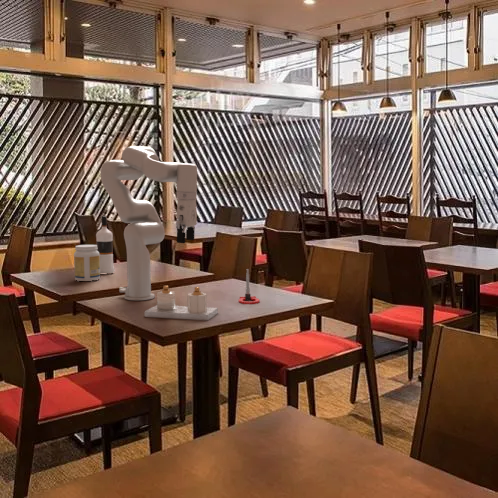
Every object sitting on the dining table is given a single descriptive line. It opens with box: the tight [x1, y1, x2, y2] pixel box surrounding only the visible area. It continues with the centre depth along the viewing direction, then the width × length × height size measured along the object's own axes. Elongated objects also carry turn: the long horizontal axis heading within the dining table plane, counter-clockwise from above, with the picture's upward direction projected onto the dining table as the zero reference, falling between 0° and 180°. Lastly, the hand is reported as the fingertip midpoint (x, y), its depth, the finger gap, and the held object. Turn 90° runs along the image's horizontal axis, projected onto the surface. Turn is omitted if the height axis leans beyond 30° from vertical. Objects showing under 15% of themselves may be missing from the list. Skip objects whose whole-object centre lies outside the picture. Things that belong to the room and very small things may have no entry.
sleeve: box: [187, 292, 208, 312], centre depth 230 cm, size 7×7×6 cm
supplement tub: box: [73, 244, 101, 282], centre depth 307 cm, size 12×12×17 cm
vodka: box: [95, 215, 115, 274], centre depth 327 cm, size 9×9×30 cm
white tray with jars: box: [144, 285, 219, 321], centre depth 231 cm, size 24×12×10 cm, turn 76°
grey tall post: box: [238, 268, 260, 305], centre depth 255 cm, size 8×13×9 cm
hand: (185, 241), depth 241 cm, fingers open, 9 cm apart
